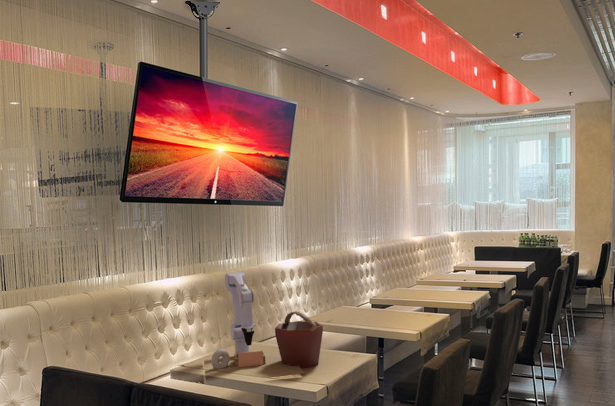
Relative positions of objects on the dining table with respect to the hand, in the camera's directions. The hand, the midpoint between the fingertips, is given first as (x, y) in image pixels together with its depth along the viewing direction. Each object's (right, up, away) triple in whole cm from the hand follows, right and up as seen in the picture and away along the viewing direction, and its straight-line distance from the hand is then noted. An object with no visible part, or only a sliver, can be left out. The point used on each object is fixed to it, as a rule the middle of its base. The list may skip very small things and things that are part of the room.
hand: (248, 343), depth 285 cm
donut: (-12, -11, -9) cm, 18 cm away
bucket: (+25, -9, -5) cm, 27 cm away
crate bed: (+1, -10, -3) cm, 10 cm away
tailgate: (+2, -8, -9) cm, 12 cm away
